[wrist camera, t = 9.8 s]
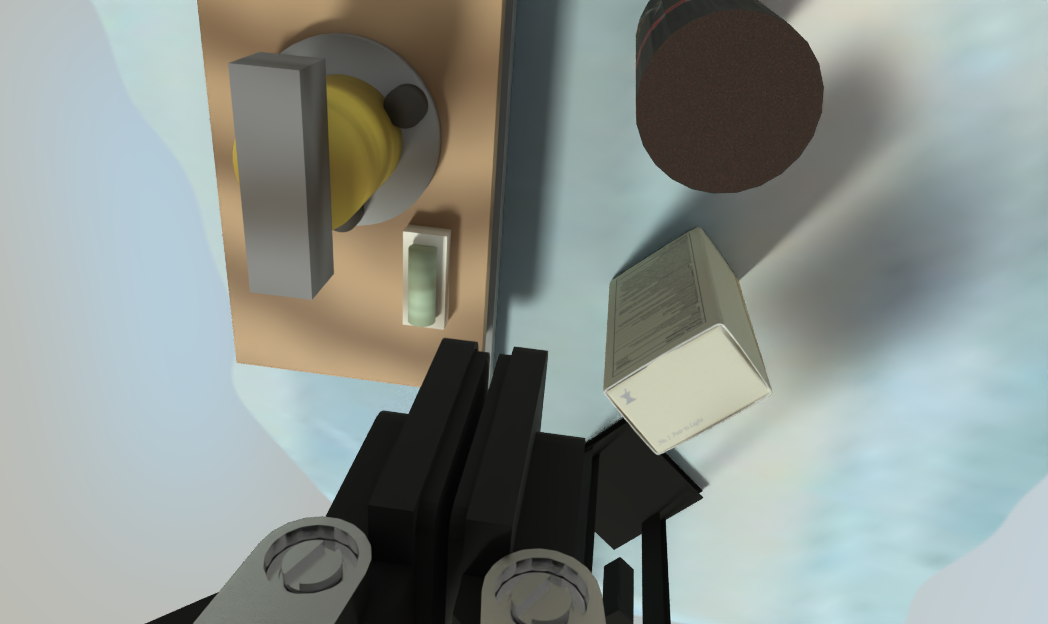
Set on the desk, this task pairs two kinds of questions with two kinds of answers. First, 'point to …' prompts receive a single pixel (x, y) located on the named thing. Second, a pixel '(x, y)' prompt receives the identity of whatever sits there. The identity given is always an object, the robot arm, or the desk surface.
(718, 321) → the skincare box
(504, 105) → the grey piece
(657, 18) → the deodorant
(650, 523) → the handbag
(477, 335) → the level plate
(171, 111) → the desk surface
